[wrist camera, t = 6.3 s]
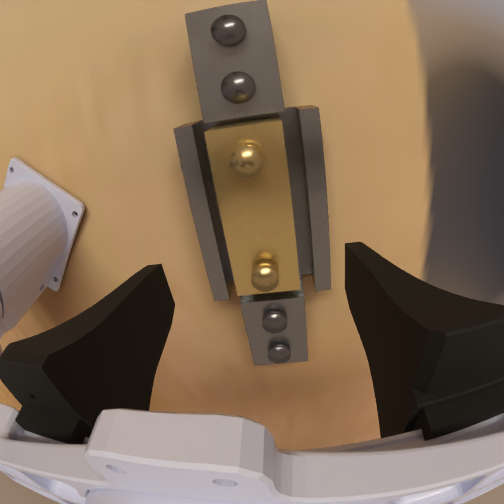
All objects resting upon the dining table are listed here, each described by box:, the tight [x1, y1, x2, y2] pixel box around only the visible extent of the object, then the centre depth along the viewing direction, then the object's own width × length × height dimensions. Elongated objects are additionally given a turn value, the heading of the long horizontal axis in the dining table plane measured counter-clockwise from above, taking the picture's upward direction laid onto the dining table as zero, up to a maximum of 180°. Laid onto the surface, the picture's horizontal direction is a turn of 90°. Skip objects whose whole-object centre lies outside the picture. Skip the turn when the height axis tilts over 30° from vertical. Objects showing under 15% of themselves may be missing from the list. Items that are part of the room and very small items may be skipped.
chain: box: [174, 0, 331, 365], centre depth 18 cm, size 23×8×4 cm, turn 9°
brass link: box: [204, 114, 300, 296], centre depth 17 cm, size 9×4×5 cm, turn 9°
